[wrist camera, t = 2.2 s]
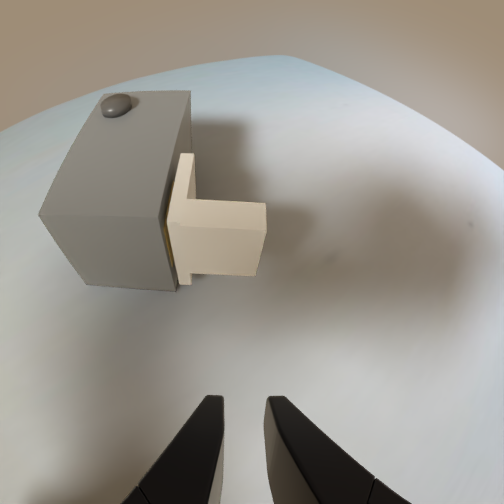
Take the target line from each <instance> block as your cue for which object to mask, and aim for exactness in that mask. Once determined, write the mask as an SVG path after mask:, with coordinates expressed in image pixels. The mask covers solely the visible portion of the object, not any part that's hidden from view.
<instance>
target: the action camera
mask: <svg viewBox="0 0 504 504" xmlns="http://www.w3.org/2000/svg"><path fill="white" fill-rule="evenodd" d="M181 153H192V136H191V91H139V92H122V93H109V94H103V96H102V97H101V99H100V100H99V102H98V103H97V105H96V106H95V108H94V109H93V111H92V112H91V114H90V116H89V117H88V119H87V120H86V122H85V124H84V125H83V127H82V129H81V130H80V132H79V134H78V136H77V137H76V139H75V141H74V143H73V144H72V146H71V148H70V150H69V152H68V153H67V155H66V157H65V159H64V161H63V163H62V165H61V167H60V169H59V171H58V173H57V175H56V177H55V179H54V181H53V183H52V185H51V187H50V189H49V191H48V193H47V196H46V198H45V200H44V202H43V205H42V207H41V209H40V212H39V214H38V216H39V217H40V219H41V220H42V222H43V223H44V225H45V227H46V228H47V230H48V231H49V233H50V234H51V236H52V237H53V239H54V240H55V242H56V243H57V245H58V246H59V248H60V249H61V250H62V252H63V253H64V255H65V256H66V258H67V259H68V260H69V262H70V263H71V265H72V266H73V267H74V269H75V270H76V271H77V273H78V274H79V275H80V277H81V278H82V279H83V281H84V282H85V283H86V285H97V286H109V287H121V288H133V289H147V290H161V291H176V285H177V276H178V275H177V270H176V266H175V261H174V256H173V251H172V247H171V242H170V237H169V232H168V226H167V217H168V212H169V206H170V201H171V196H172V191H173V186H174V182H175V177H176V172H177V168H178V163H179V159H180V155H181Z"/></svg>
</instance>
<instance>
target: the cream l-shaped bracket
mask: <svg viewBox="0 0 504 504" xmlns="http://www.w3.org/2000/svg"><path fill="white" fill-rule="evenodd" d="M167 226H168V232H169V237H170V242H171V247H172V251H173V256H174V261H175V266H176V270H177V275H178V279H179V284H180V285H192V274H193V273H196V274H215V275H236V276H256V272H257V268H258V264H259V260H260V256H261V252H262V248H263V244H264V240H265V236H266V232H267V222H266V203H255V202H239V201H221V200H200V199H196V183H195V157H194V154H193V153H181V155H180V159H179V163H178V168H177V172H176V177H175V182H174V186H173V191H172V196H171V201H170V206H169V212H168V217H167Z"/></svg>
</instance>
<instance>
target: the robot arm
mask: <svg viewBox="0 0 504 504" xmlns="http://www.w3.org/2000/svg"><path fill="white" fill-rule="evenodd" d="M224 426H225V423H224V397H223V396H221V395H207V396H205V398H204V399H203V400H202V402H201V403H200V404H199V406H198V407H197V408H196V410H195V411H194V412H193V414H192V415H191V416H190V418H189V419H188V420H187V422H186V423H185V424H184V426H183V427H182V428H181V429H180V431H179V432H178V433H177V435H176V436H175V437H174V439H173V440H172V441H171V442H170V444H169V445H168V446H167V448H166V449H165V450H164V451H163V453H162V454H161V455H160V456H159V458H158V459H157V460H156V462H155V463H154V464H153V465H152V467H151V468H150V469H149V470H148V472H147V473H146V474H145V475H144V477H143V478H142V479H141V480H140V481H139V483H138V486H135V487H134V489H133V490H132V491H131V492H130V493H129V495H128V496H127V497H126V498H125V499H124V500H123V501H122V503H121V504H220V498H221V491H222V483H223V461H224ZM264 437H265V449H266V462H267V473H268V480H269V485H270V489H271V493H272V497H273V502H274V504H412V503H410V502H408V501H407V500H405V499H404V498H402V497H401V496H400V495H398V494H397V493H395V492H394V491H393V490H391V489H390V488H389V487H387V486H386V485H385V484H384V483H382V482H381V481H380V480H379V479H377V478H376V479H375V476H374V475H372V474H371V473H370V472H369V471H367V470H366V469H365V468H364V467H363V466H361V465H360V464H359V463H358V462H357V461H356V460H354V459H353V458H352V457H351V456H350V455H349V454H347V453H346V452H345V451H344V450H343V449H342V448H341V447H339V446H338V445H337V444H336V443H335V442H334V441H333V440H331V439H330V438H329V437H328V436H327V435H326V434H325V433H324V432H323V431H321V430H320V429H319V428H318V427H317V426H316V425H315V424H314V423H313V422H312V421H311V420H309V419H308V418H307V417H306V416H305V415H304V414H303V413H302V412H301V411H300V410H299V409H298V408H297V407H296V406H295V405H293V404H292V403H291V402H290V401H289V400H288V399H287V398H286V397H285V396H269V397H268V398H267V401H266V408H265V416H264Z"/></svg>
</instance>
